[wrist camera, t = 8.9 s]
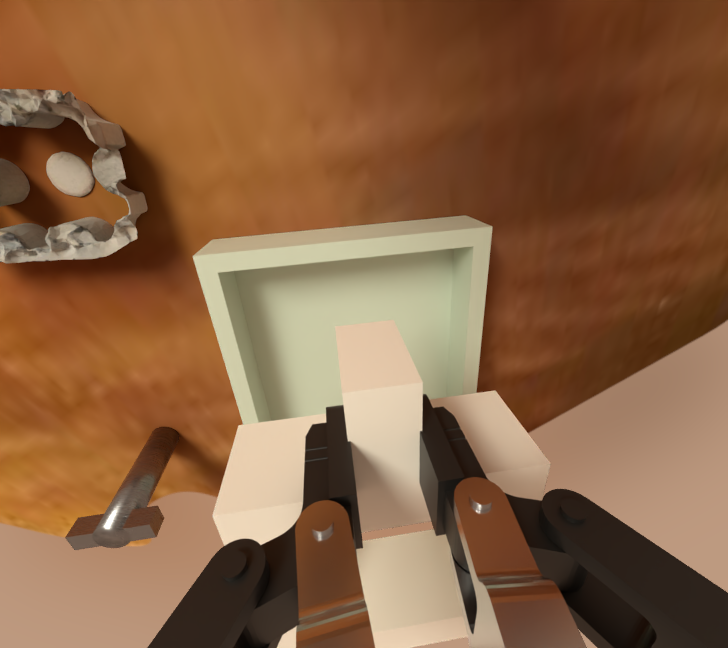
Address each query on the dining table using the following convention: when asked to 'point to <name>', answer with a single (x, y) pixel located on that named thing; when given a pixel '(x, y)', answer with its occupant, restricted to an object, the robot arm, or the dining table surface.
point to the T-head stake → (130, 500)
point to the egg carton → (65, 182)
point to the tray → (344, 307)
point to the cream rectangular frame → (380, 482)
